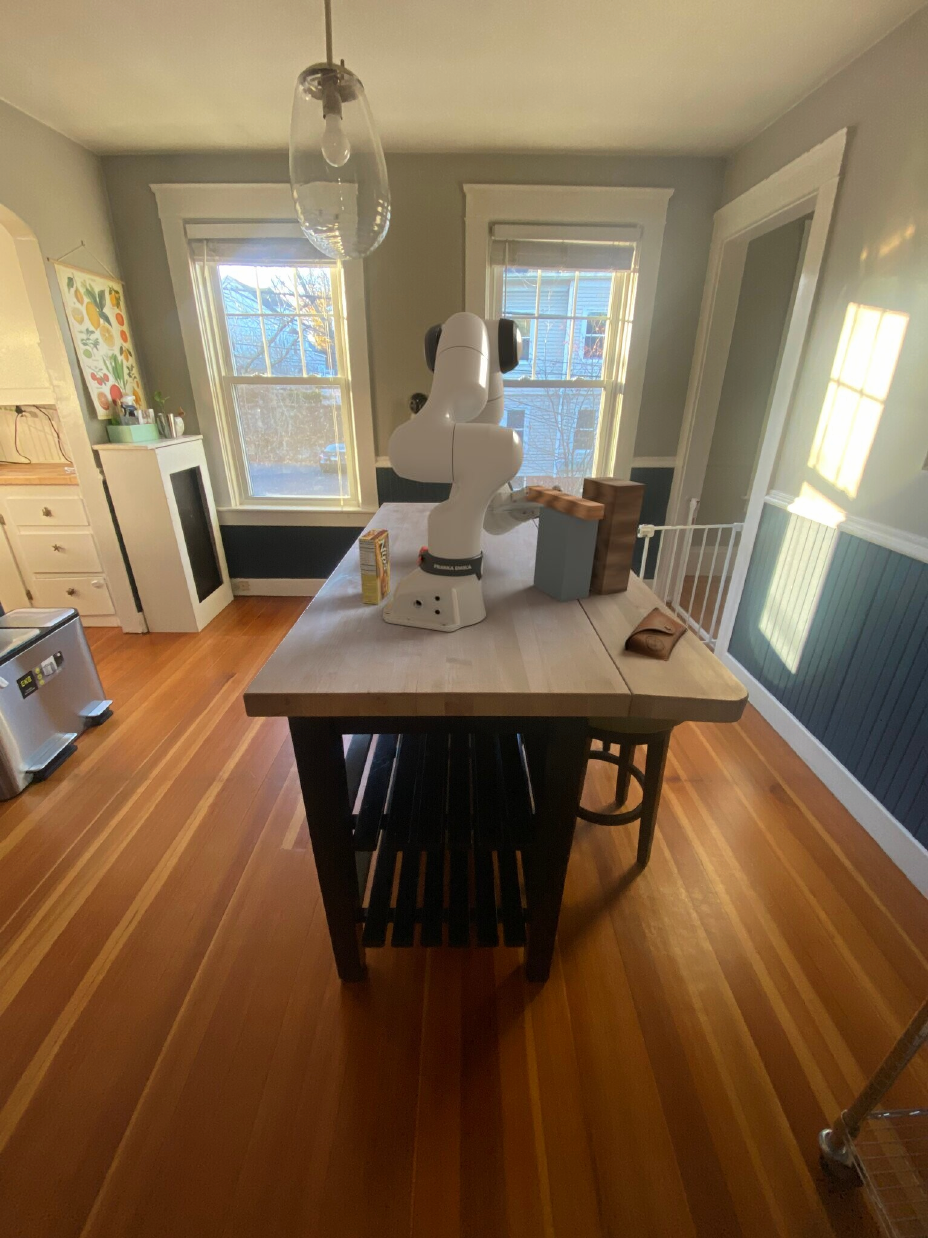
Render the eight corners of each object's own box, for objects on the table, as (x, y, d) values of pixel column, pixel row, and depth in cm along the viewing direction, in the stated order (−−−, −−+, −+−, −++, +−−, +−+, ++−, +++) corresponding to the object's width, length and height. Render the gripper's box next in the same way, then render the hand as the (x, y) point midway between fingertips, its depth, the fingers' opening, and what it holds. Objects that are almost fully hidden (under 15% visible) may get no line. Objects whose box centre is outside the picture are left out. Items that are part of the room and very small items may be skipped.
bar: (524, 498, 124) (525, 486, 123) (537, 497, 125) (538, 485, 124) (587, 520, 103) (589, 506, 101) (602, 518, 104) (604, 504, 103)
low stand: (533, 585, 123) (539, 506, 115) (559, 581, 126) (567, 504, 118) (560, 602, 113) (570, 517, 105) (588, 597, 116) (599, 514, 108)
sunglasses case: (669, 662, 88) (656, 629, 87) (633, 669, 92) (620, 638, 92) (689, 627, 102) (678, 599, 101) (657, 635, 106) (645, 608, 105)
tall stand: (572, 579, 128) (584, 478, 117) (596, 575, 131) (610, 476, 120) (601, 595, 118) (617, 486, 107) (626, 590, 121) (645, 484, 110)
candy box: (375, 589, 118) (371, 528, 112) (391, 591, 118) (388, 529, 111) (362, 603, 110) (357, 538, 104) (379, 605, 110) (375, 539, 103)
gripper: (480, 498, 128) (503, 478, 115) (545, 494, 136) (573, 475, 123) (485, 521, 128) (509, 504, 115) (550, 516, 136) (578, 498, 123)
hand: (543, 489), depth 119 cm, fingers open, 8 cm apart
